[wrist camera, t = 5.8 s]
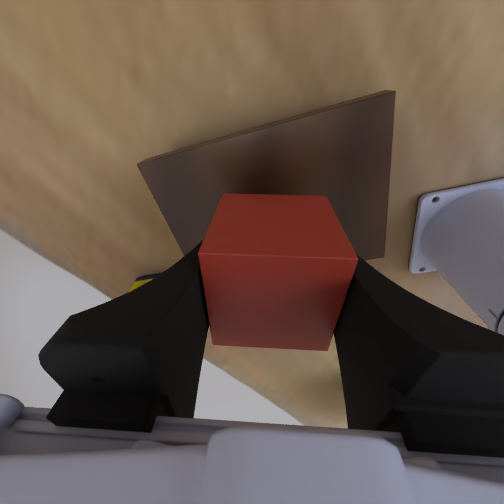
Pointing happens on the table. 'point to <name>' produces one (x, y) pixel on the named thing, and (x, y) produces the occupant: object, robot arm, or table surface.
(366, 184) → the shelf
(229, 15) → the table surface
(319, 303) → the block
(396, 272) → the table surface
